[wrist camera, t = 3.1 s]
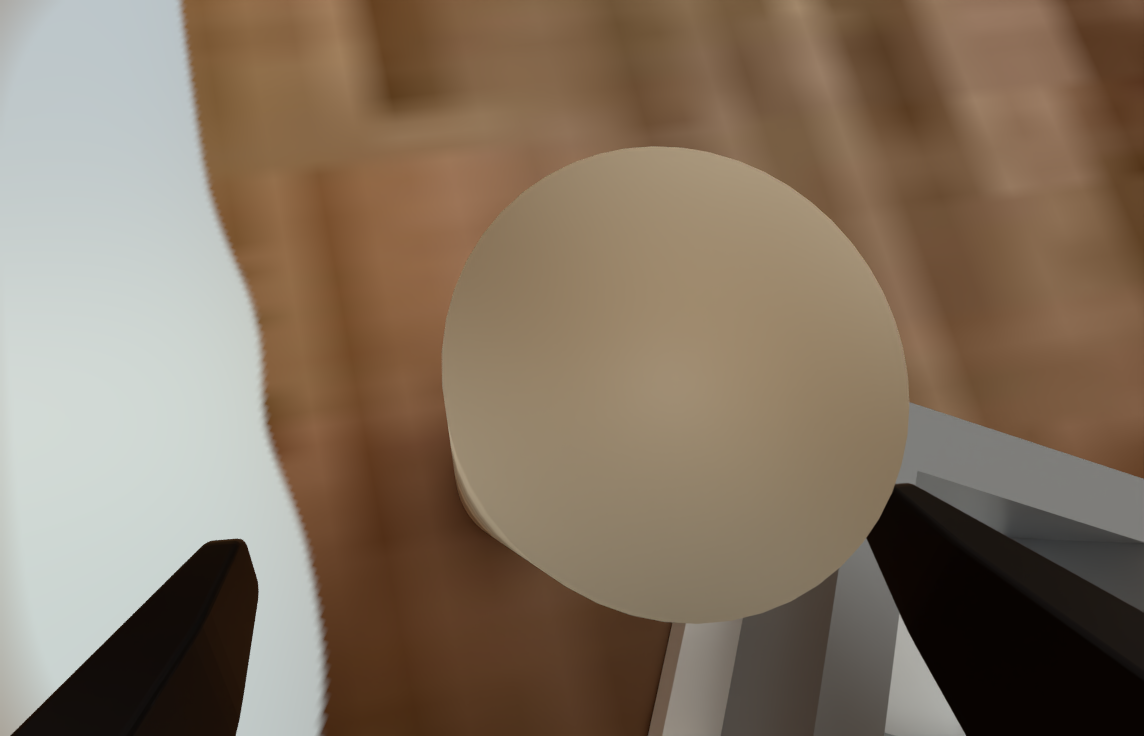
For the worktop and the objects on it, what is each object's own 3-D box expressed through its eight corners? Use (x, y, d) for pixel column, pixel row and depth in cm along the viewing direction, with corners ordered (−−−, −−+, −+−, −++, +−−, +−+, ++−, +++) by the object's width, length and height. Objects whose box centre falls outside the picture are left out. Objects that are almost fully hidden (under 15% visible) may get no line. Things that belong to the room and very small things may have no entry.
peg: (576, 562, 17) (873, 682, 5) (435, 522, 17) (365, 541, 4) (613, 423, 18) (933, 231, 6) (481, 383, 18) (526, 84, 6)
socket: (1044, 891, 17) (1265, 1033, 13) (636, 788, 16) (709, 903, 12) (1069, 470, 21) (1254, 456, 16) (729, 359, 19) (817, 308, 15)
